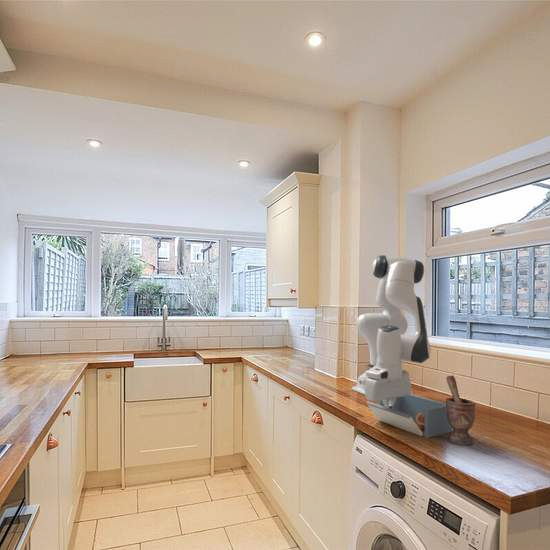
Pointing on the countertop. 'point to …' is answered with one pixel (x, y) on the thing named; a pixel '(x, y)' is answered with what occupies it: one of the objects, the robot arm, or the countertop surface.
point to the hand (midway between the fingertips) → (388, 410)
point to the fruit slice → (420, 420)
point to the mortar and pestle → (459, 415)
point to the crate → (432, 409)
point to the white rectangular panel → (394, 418)
